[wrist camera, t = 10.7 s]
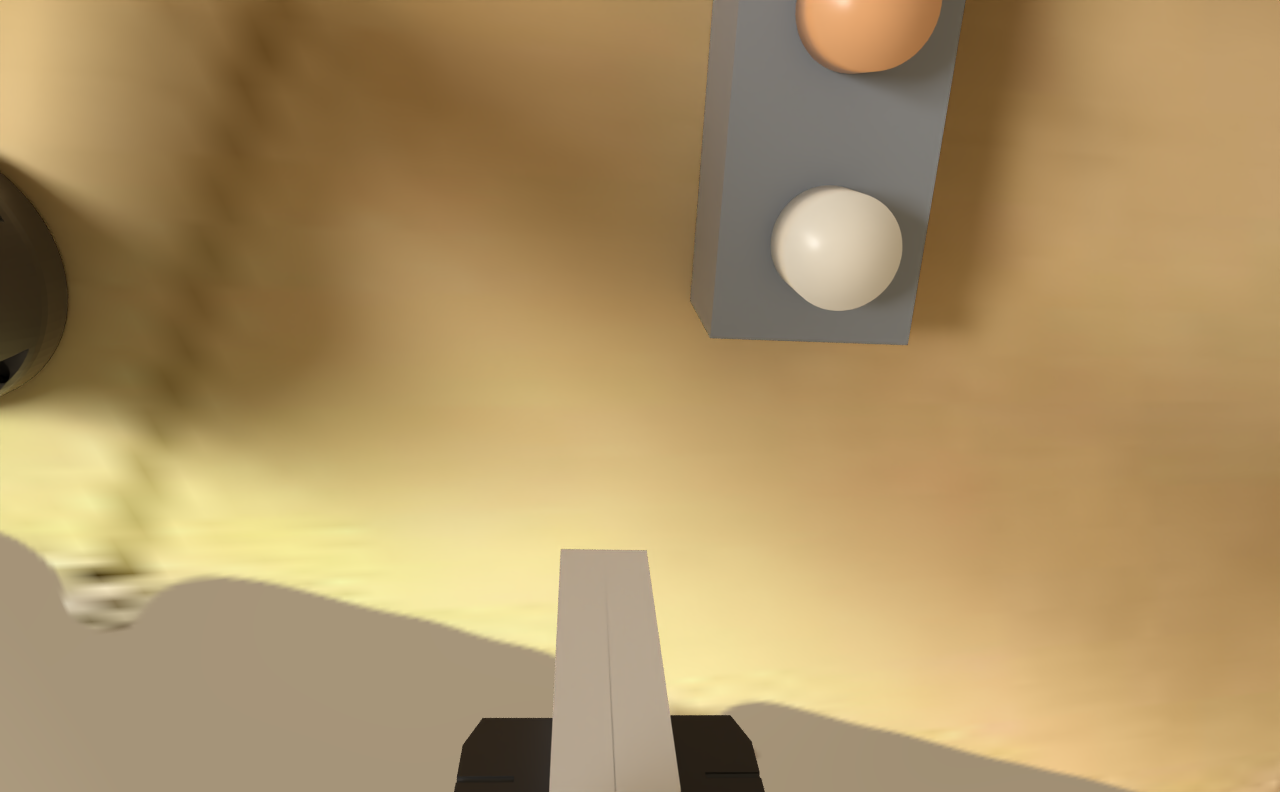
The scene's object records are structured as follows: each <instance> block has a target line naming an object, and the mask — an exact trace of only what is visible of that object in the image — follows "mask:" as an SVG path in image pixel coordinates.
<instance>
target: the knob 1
mask: <svg viewBox="0 0 1280 792" xmlns="http://www.w3.org/2000/svg"><path fill="white" fill-rule="evenodd" d="M941 6H942V0H797V1H796V11H795V16H796V25H797V30H798V34H799V37H800V39H801V41H802V44H803V46H804V47H805V49H806V50H807V52H808V53H809V54H810V55H811V57H812V58H813V59H814V60H815V61H817V62H818V63H819V64H820V65H822V66H824V67H825V68H827V69H829V70H832V71H835V72H838V73H845V74H856V73H866V72H876V71H883V70H887V69H891V68H894V67H896V66H898V65H901V64H902V63H904V62H906V61H907V60H909V59H910V58H911V57H913V56H914V55H915V54H916V53H917V52H918V51H919V50H920V49H921V48H922V47H923V46H924V44H925V43H926V42H927V41H928V39H929V37H930V36H931V34H932V33H933V30H934V28H935V26H936V24H937V21H938V18H939V15H940V11H941Z"/></svg>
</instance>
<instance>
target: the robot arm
mask: <svg viewBox="0 0 1280 792" xmlns="http://www.w3.org/2000/svg"><path fill="white" fill-rule="evenodd" d="M67 305H68V294H67V283H66V277H65V272H64V267H63V264H62V261H61V257H60V254H59V252H58V249H57V246H56V244H55V242H54V240H53V238H52V236H51V234H50V232H49V230H48V228H47V226H46V225H45V223H44V222H43V220H42V218H41V217H40V215H39V214H38V212H37V211H36V210H35V208H34V207H33V206H32V204H31V203H30V202H29V201H28V199H27V198H26V197H25V196H24V195H23V194H22V193H21V192H20V190H19V189H18V188H17V187H16V186H15V185H14V184H13V183H12V182H11V181H10V180H9V179H7V178H6V177H5V176H4V175H3V174H2V173H0V396H2V395H4V394H6V393H8V392H10V391H12V390H14V389H16V388H18V387H19V386H21V385H23V384H24V383H26V382H27V381H28V380H30V379H31V378H32V377H33V376H35V375H36V374H37V373H38V372H39V371H40V370H41V369H42V368H43V367H44V366H45V364H46V363H47V362H48V360H49V359H50V358H51V356H52V354H53V353H54V351H55V349H56V347H57V346H58V344H59V341H60V339H61V336H62V333H63V330H64V326H65V321H66V316H67ZM454 792H765V791H764V788H763V784H762V780H761V778H760V776H759V768H758V764H757V761H756V757H755V753H754V749H753V745H752V742H751V740H750V739H749V738H748V737H747V735H746V734H745V733H744V732H743V730H742V729H741V728H740V727H739V725H738V724H737V723H736V722H735V721H734V719H733V718H732V717H731V716H730V715H670V711H669V704H668V697H667V690H666V683H665V676H664V669H663V662H662V655H661V648H660V641H659V634H658V627H657V620H656V613H655V606H654V599H653V592H652V585H651V578H650V571H649V564H648V557H647V550H585V549H561V556H560V576H559V597H558V618H557V639H556V660H555V682H554V702H553V718H482V720H481V721H480V723H479V724H478V725H477V727H476V728H475V729H474V731H473V732H472V733H471V735H470V736H469V737H468V739H467V740H466V742H465V743H464V744H463V747H462V753H461V758H460V763H459V769H458V774H457V783H456V785H455V791H454Z"/></svg>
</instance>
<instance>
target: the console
mask: <svg viewBox="0 0 1280 792" xmlns="http://www.w3.org/2000/svg"><path fill="white" fill-rule="evenodd" d="M796 1H797V0H713V8H712V21H711V34H710V47H709V60H708V73H707V87H706V100H705V113H704V126H703V139H702V152H701V165H700V179H699V192H698V205H697V218H696V231H695V244H694V257H693V271H692V284H691V297H690V302H691V304H692V305H693V307H694V309H695V311H696V313H697V315H698V317H699V318H700V320H701V322H702V324H703V326H704V328H705V330H706V331H707V333H708V335H709V337H710V338H721V339H749V340H778V341H806V342H834V343H862V344H890V345H908V340H909V334H910V328H911V322H912V316H913V310H914V304H915V298H916V292H917V286H918V280H919V274H920V268H921V263H922V257H923V251H924V245H925V239H926V233H927V227H928V221H929V215H930V209H931V203H932V197H933V191H934V185H935V179H936V173H937V167H938V161H939V155H940V149H941V143H942V137H943V132H944V126H945V120H946V114H947V108H948V102H949V96H950V90H951V84H952V78H953V72H954V66H955V60H956V54H957V48H958V42H959V36H960V30H961V24H962V18H963V12H964V7H965V1H966V0H942V6H941V11H940V15H939V18H938V21H937V24H936V26H935V28H934V30H933V33H932V34H931V36H930V37H929V39H928V41H927V42H926V43H925V44H924V46H923V47H922V48H921V49H920V50H919V51H918V52H917V53H916V54H915V55H914V56H913V57H911V58H910V59H909V60H907V61H906V62H904V63H902V64H901V65H898V66H896V67H894V68H891V69H887V70H883V71H876V72H866V73H856V74H845V73H838V72H835V71H832V70H829V69H827V68H825V67H824V66H822V65H820V64H819V63H818V62H817V61H815V60H814V59H813V58H812V57H811V55H810V54H809V53H808V52H807V50H806V49H805V47H804V46H803V44H802V41H801V39H800V37H799V34H798V30H797V25H796V16H795V11H796ZM824 185H834V186H841V187H845V188H848V189H851V190H854V191H857V192H860V193H863V194H866V195H869V196H871V197H873V198H875V199H877V200H879V201H880V202H882V203H883V204H884V205H885V206H886V207H887V208H888V209H889V210H890V211H891V212H892V214H893V215H894V217H895V218H896V220H897V223H898V225H899V228H900V231H901V236H902V257H901V261H900V265H899V267H898V270H897V272H896V274H895V276H894V278H893V280H892V281H891V283H890V284H889V285H888V287H887V288H886V289H885V290H884V291H883V292H882V293H881V294H880V295H879V296H878V297H876V298H875V299H874V300H872V301H871V302H869V303H867V304H865V305H863V306H861V307H858V308H855V309H851V310H845V311H833V310H826V309H822V308H819V307H817V306H815V305H813V304H811V303H809V302H808V301H806V300H805V299H804V298H803V297H802V296H800V295H799V294H798V293H797V292H796V291H795V290H794V289H793V288H791V287H790V286H789V285H788V284H787V283H786V282H785V281H784V280H783V279H782V278H781V276H780V275H779V273H778V272H777V270H776V268H775V266H774V263H773V260H772V255H771V236H772V231H773V228H774V224H775V222H776V220H777V218H778V216H779V214H780V213H781V211H782V210H783V209H784V207H785V206H786V205H787V204H788V203H789V202H790V201H791V200H792V199H793V198H795V197H796V196H797V195H799V194H801V193H802V192H804V191H806V190H809V189H811V188H814V187H818V186H824Z"/></svg>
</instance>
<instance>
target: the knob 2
mask: <svg viewBox="0 0 1280 792" xmlns="http://www.w3.org/2000/svg"><path fill="white" fill-rule="evenodd" d="M771 255H772V260H773V263H774V266H775V268H776V270H777V272H778V273H779V275H780V276H781V278H782V279H783V280H784V281H785V282H786V283H787V284H788V285H789V286H790V287H791V288H793V289H794V290H795V291H796V292H797V293H798V294H799V295H800V296H802V297H803V298H804V299H805V300H806V301H808V302H809V303H811V304H813V305H815V306H817V307H819V308H822V309H826V310H833V311H845V310H851V309H855V308H858V307H861V306H863V305H865V304H867V303H869V302H871V301H872V300H874V299H875V298H876V297H878V296H879V295H880V294H881V293H882V292H883V291H884V290H885V289H886V288H887V287H888V285H889V284H890V283H891V281H892V280H893V278H894V276H895V274H896V272H897V270H898V267H899V265H900V261H901V257H902V236H901V231H900V228H899V225H898V223H897V220H896V218H895V217H894V215H893V214H892V212H891V211H890V210H889V209H888V208H887V207H886V206H885V205H884V204H883V203H882V202H880V201H879V200H877V199H875V198H873V197H871V196H869V195H866V194H863V193H860V192H857V191H854V190H851V189H848V188H845V187H841V186H834V185H824V186H818V187H814V188H811V189H809V190H806V191H804V192H802V193H801V194H799V195H797V196H796V197H795V198H793V199H792V200H791V201H790V202H789V203H788V204H787V205H786V206H785V207H784V209H783V210H782V211H781V213H780V214H779V216H778V218H777V220H776V222H775V224H774V228H773V231H772V236H771Z"/></svg>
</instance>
